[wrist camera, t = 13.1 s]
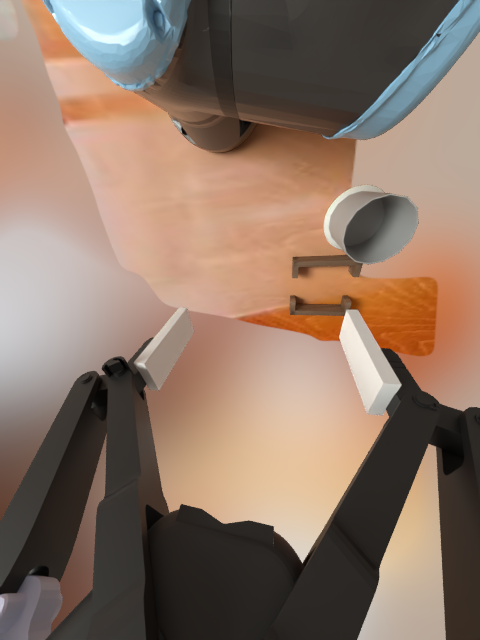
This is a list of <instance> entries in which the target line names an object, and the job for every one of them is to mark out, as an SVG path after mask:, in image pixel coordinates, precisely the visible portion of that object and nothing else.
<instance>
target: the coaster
mask: <svg viewBox="0 0 480 640" xmlns="http://www.w3.org/2000/svg"><path fill="white" fill-rule="evenodd" d="M360 191H370V192H380V193H385V192H384V191H383V190H381V189H380V188H378V187H376V186H373V185H360V186H356V187H353V188H350V189H348V190H347V191H345V192H343V193H342V194H341V195H340V196H338V197H337V198H336V199H335V201H334V202H333V203H332V204H331V206H330V207H329V209H328V211H327V213H326V216H325V219H324V234H325V237H326V239H327V240H328V242H329V243H330V244H331V245H332V246H334V247H335V248H338V249H341V248H340V246H339V245H338V244H337V243H336V242H335V241H334V240H333V239H332V237H331V234H330V231H329V228H328V227H329V222H330V216H331V214H332V212H333V211H334V209H335V208H336V206H337V204H338V203H340V202H341V201H342V200H343V199H345V198H346V197H347V196H348V195H350V194H353V193H357V192H360ZM341 250H342V249H341Z"/></svg>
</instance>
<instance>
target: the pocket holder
mask: <svg viewBox="0 0 480 640" xmlns="http://www.w3.org/2000/svg"><path fill="white" fill-rule="evenodd" d="M362 264H363V263H359V262H355V261H354V260H353V259H351V258H350V257H349V256H348V255H335V256H310V257H293V263H292V278H298V269H299V267H319V266H350V268H349V272H350V274H351V275H352V276H353V277H359V275H360V271H361V268H362ZM351 304H352V302H351V300H350V299H349V297H348V296H343V297H342V301H341V305H337V304H296V300H295V296H290V315H331V316H345V313H346V310H350V307H351Z"/></svg>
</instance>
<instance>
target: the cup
mask: <svg viewBox="0 0 480 640" xmlns="http://www.w3.org/2000/svg"><path fill="white" fill-rule="evenodd" d="M417 225H418V211H417V207H416V206H415V205H414V203H413V202H412V201H411V200H410V199H409V198H408V197H406V196H401V195H396V194H390V193H380V192H370V191H360V192H357V193H353V194H350V195H348V196H347V197H346V198H345V199H343V200H342V201H341V202H340V203H338V204H337V206H336V208H335V209H334V211H333V212H332V214H331V216H330V222H329V227H328V228H329V231H330V234H331V237H332V239H333V240H334V241H335V242H336V243H337V244H338V245H339V246H340V248H341V249H342V250H343V251H344V252H345V253H346V254H347V255H348V256H349V257H350V258H351V259H353V260H354V261H355V262H359V263H364V264H373V263H378V262H383V261H385V260H387V259H389V258H390V257H392V256H394V255H396V254H397V253H399V252H400V251H401V250H402V249H403V248H404V247H405V246H406V244H407V243H408V242H409V241H410V240H411V239H412V237H413V235H414V232H415V230H416V227H417Z"/></svg>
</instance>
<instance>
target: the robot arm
mask: <svg viewBox="0 0 480 640" xmlns="http://www.w3.org/2000/svg"><path fill="white" fill-rule="evenodd" d="M42 1H43V3H44V4H45V6H46V7H47V9H48V10H49V12H50V13H51V14H52V15H53V17H54V19H55V21H56V22H57V23H58V24H59V26H60V28H61V30H62V32H63V33H64V35H65V36H66V37H67V39H68V40H69V41H70V42H71V44H72V45H73V46H74V47H75V48H76V49H77V50H78V51H79V52H80V53H81V54H82V55H83V56H84V57H85V58H86V59H87V60H88V61H89V62H91V63H92V64H93V65H94V66H96V67H97V68H98V69H100V70H101V71H102V72H104V74H105V75H106V76H107V77H108V78H110V79H111V80H112V82H113V83H115V84H116V85H118V86H121V87H122V88H123V89H126V90H129V91H133V92H135V93H136V94H138V95H140V96H141V97H143V98H145V99H146V100H148V101H150V102H151V103H153V104H155V105H156V106H158V107H160V108H161V109H163V110H165V111H166V112H168V114H169V116H170V118H171V120H172V121H173V123H174V124H175V126H176V127H177V129H178V130H179V131H180V133H181V134H182V135H183V136H184V137H185V138H186V139H187V140H188V141H190V142H191V143H192V144H194V145H195V146H197V147H199V148H201V149H204V150H206V151H209V152H215V153H221V152H227V151H230V150H232V149H234V148H236V147H238V146H239V145H240V144H242V143H243V142H244V141H245V140H246V139H247V138H248V137H249V135H250V134H251V133H252V131H253V130H254V128H255V127H256V125H257V123H260V124H266V125H271V126H276V127H282V128H287V129H293V130H298V131H303V132H309V133H314V134H319V135H322V137H324V138H326V139H330V140H331V139H337V138H340V137H341V138H350V139H358V140H366V139H371V138H375V137H377V136H379V135H382V134H384V133H385V132H387V131H388V130H390V129H391V128H393V127H394V126H395V125H397V124H398V123H399V122H400V121H402V120H403V119H404V118H405V117H406V116H407V115H408V114H409V113H411V112H412V111H413V110H414V109H415V108H416V107H417V106H418V105H419V104H420V103H421V102H422V101H423V100H424V98H425V97H426V96H427V95H428V94H429V93H430V92H431V91H432V90H433V89H434V87H435V86H436V85H437V84H438V83H439V82H440V81H441V79H442V78H443V77H444V76H445V75H446V74H447V72H448V71H449V70H450V69H451V67H452V66H453V65H454V64H455V63H456V61H457V60H458V59H459V58H460V56H461V55H462V54H463V53H464V51H465V50H466V49H467V47H468V46H469V45H470V44H471V42H472V41H473V40H474V38H475V37H476V36H477V34H478V33H479V32H480V0H42ZM193 333H194V329H193V326H192V323H191V320H190V316H189V313H188V309H187V308H178V310H177V311H176V312H175V313H174V315H173V316H172V317H171V318H170V319H169V321H168V322H167V323H166V324H165V325H164V327H163V328H162V329H161V330H160V331H159V333H158V334H157V335H156V336H155V337H154V338H150V339H149V340H147V341H146V342H145V343H144V344H143V345H142V347H141V348H140V349H139V350H138V351H137V352H136V353H135V355H134V356H133V357H132V358H131V359H130V360H129V362H128V363H127V362H126V360H125V359H124V358H123V357H114V358H112V359H110V360H108V361H107V362H106V363H105V364H104V365H103V366H102V370H103V371H104V372H105V374H106V375H101V376H99V374H98V373H97V372H95V371H91V372H87V373H85V374H83V375H81V376H80V377H79V378H78V379H77V380H76V381H75V383H74V385H73V387H72V388H71V390H70V392H69V394H68V396H67V398H66V400H65V402H64V404H63V405H62V407H61V409H60V411H59V413H58V415H57V417H56V418H55V421H54V422H53V424H52V426H51V428H50V430H49V432H48V433H47V435H46V437H45V439H44V441H43V443H42V445H41V447H40V448H39V451H38V452H37V454H36V456H35V458H34V460H33V462H32V463H31V465H30V467H29V469H28V471H27V473H26V475H25V476H24V478H23V480H22V482H21V484H20V486H19V488H18V490H17V491H16V493H15V495H14V497H13V499H12V501H11V503H10V505H9V506H8V508H7V510H6V512H5V514H4V516H3V518H2V520H1V521H0V640H357V638H358V635H359V633H360V631H361V628H362V625H363V622H364V620H365V618H366V615H367V612H368V610H369V607H370V604H371V602H372V599H373V597H374V594H375V592H376V588H377V585H378V581H379V567H380V564H381V561H382V558H383V556H384V553H385V551H386V548H387V546H388V543H389V541H390V538H391V536H392V533H393V531H394V528H395V526H396V523H397V521H398V518H399V516H400V514H401V511H402V508H403V506H404V503H405V501H406V498H407V496H408V494H409V491H410V489H411V486H412V484H413V481H414V479H415V476H416V474H417V471H418V469H419V466H420V464H421V461H422V459H423V456H424V454H425V451H426V449H427V446H428V444H431V445H434V446H436V451H437V469H438V491H439V510H440V530H441V550H442V570H443V590H444V607H445V630H446V640H480V408H477V407H469V408H468V409H466V410H465V411H464V412H463V411H460V410H457V409H454V408H450V407H447V406H444V405H442V404H439V402H438V401H437V400H436V399H435V398H434V397H433V396H431V395H430V394H428V393H426V392H423V391H422V390H421V389H420V388H419V386H418V385H417V383H416V382H415V380H414V379H413V377H412V376H411V374H410V373H409V371H408V370H407V369H406V367H405V365H404V364H403V363H402V361H401V359H400V358H399V356H398V355H397V354H396V353H395V352H393V351H392V350H391V349H385V348H380V347H379V345H378V344H377V342H376V340H375V339H374V337H373V335H372V334H371V332H370V330H369V328H368V327H367V325H366V323H365V322H364V320H363V318H362V317H361V315H360V313H359V311H358V310H346V313H345V317H344V321H343V324H342V328H341V332H340V336H339V338H340V341H341V344H342V347H343V349H344V352H345V355H346V358H347V360H348V363H349V366H350V368H351V371H352V374H353V377H354V379H355V382H356V385H357V388H358V390H359V393H360V396H361V399H362V401H363V404H364V407H365V410H366V412H367V414H372V415H383V414H384V412H385V411H386V410H387V413H388V415H389V419H388V420H387V421H386V423H385V424H384V426H383V429H382V430H381V432H380V434H379V435H378V437H377V439H376V441H375V442H374V444H373V446H372V447H371V449H370V451H369V452H368V454H367V456H366V458H365V459H364V461H363V462H362V464H361V466H360V468H359V469H358V471H357V473H356V475H355V476H354V478H353V479H352V481H351V483H350V485H349V486H348V488H347V490H346V491H345V493H344V495H343V496H342V498H341V500H340V502H339V503H338V505H337V507H336V508H335V510H334V512H333V514H332V515H331V517H330V519H329V520H328V522H327V524H326V526H325V527H324V529H323V530H322V532H321V534H320V535H319V537H318V538H317V540H316V542H315V543H314V545H313V546H312V548H311V550H310V552H309V553H308V555H307V557H306V558H305V560H304V562H303V563H302V562H301V560H300V559H299V557H298V555H297V554H296V553H295V551H294V549H293V548H292V547H291V546H290V544H289V543H288V542H287V541H286V540H285V539H284V538H283V537H281V536H280V535H279V534H277V533H276V532H274V527H273V526H270V525H265V524H261V523H257V522H253V521H243V522H235V523H228V524H223V523H221V522H220V521H218V520H217V519H215V518H214V517H212V516H211V515H210V514H208V513H207V512H205V511H204V510H202V509H199V508H195V507H191V506H187V505H183V504H181V506H180V509H179V510H176V511H173V512H170V513H169V510H168V506H167V503H166V500H165V498H164V496H163V492H162V487H161V481H160V475H159V469H158V464H157V458H156V452H155V446H154V440H153V435H152V429H151V423H150V417H149V411H148V406H147V400H146V394H145V391H144V387H145V386H146V385H147V386H148V388H149V389H150V390H158V391H159V390H160V388H161V387H162V385H163V383H164V381H165V380H166V378H167V377H168V375H169V373H170V371H171V369H172V368H173V366H174V365H175V363H176V361H177V359H178V358H179V356H180V355H181V353H182V351H183V350H184V348H185V346H186V345H187V343H188V341H189V339H190V338H191V336H192V334H193ZM106 433H107V446H106V485H105V497H104V499H103V500H102V501H101V502H100V503H99V505H98V508H97V515H96V534H95V554H94V573H93V575H94V576H93V589H92V590H91V591H90V593H89V594H88V595H87V596H86V597H85V598H84V599H83V600H82V601H81V602H80V603H79V604H78V605H77V606H76V607H75V608H74V610H73V611H72V612H71V613H70V614H69V615H68V616H67V617H66V618H65V619H64V620H63V621H62V622H61V624H59V626H58V627H57V628H56V629H55V630H54V631H53V632H52V633H51V624H52V621H53V620H54V619H55V617H56V616H57V614H58V613H59V610H60V608H61V606H62V601H63V600H62V599H63V598H62V595H61V594H60V583H59V582H60V580H61V578H62V576H63V574H64V571H65V568H66V566H67V563H68V561H69V558H70V556H71V553H72V550H73V546H74V543H75V541H76V538H77V534H78V531H79V527H80V524H81V520H82V517H83V513H84V510H85V506H86V503H87V499H88V495H89V492H90V489H91V485H92V482H93V478H94V474H95V471H96V468H97V464H98V461H99V457H100V454H101V450H102V447H103V443H104V440H105V436H106ZM273 538H274V544H273Z"/></svg>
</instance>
